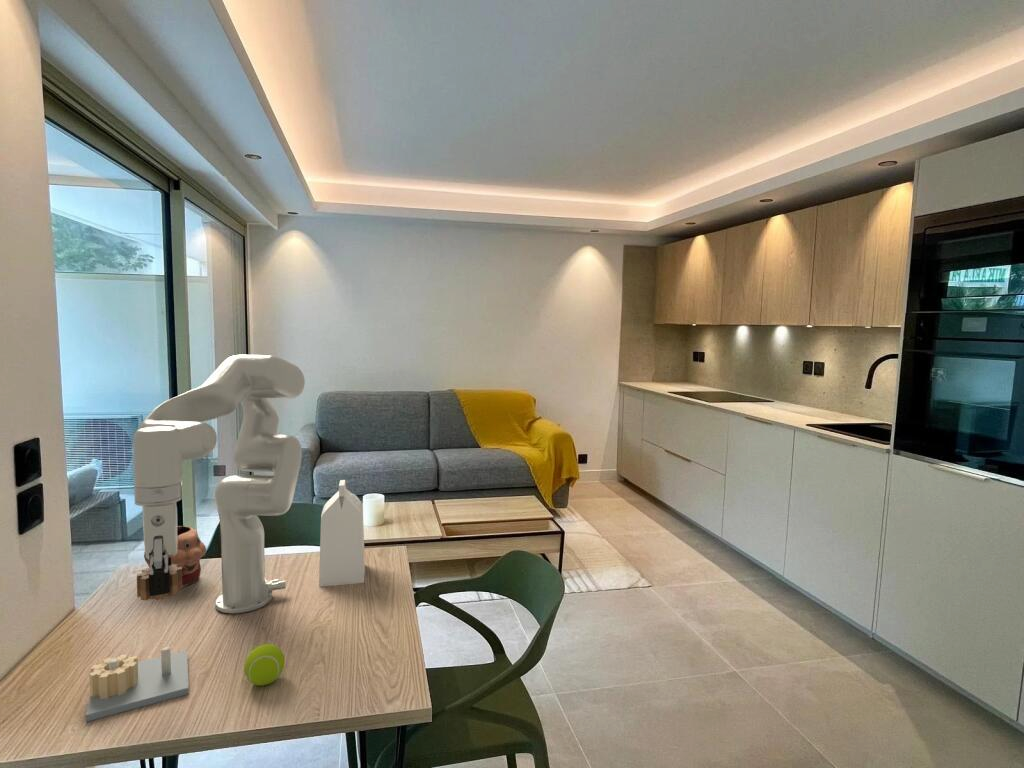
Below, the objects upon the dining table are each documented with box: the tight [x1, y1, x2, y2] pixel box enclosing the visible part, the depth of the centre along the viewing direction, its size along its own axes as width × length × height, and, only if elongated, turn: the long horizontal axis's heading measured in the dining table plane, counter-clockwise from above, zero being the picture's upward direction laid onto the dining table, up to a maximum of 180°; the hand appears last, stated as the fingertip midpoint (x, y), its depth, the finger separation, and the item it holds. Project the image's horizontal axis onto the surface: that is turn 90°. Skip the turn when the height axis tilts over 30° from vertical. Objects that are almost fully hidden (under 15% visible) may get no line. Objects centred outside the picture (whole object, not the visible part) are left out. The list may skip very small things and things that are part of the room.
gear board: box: [85, 646, 190, 723], centre depth 104 cm, size 15×14×6 cm
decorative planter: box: [143, 525, 207, 587], centre depth 148 cm, size 20×12×14 cm, turn 73°
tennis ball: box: [243, 643, 286, 686], centre depth 105 cm, size 7×7×7 cm
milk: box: [318, 479, 366, 587], centre depth 152 cm, size 12×12×26 cm
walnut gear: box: [136, 564, 183, 601], centre depth 105 cm, size 7×7×4 cm
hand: (160, 585), depth 105 cm, fingers closed on walnut gear, 7 cm apart
